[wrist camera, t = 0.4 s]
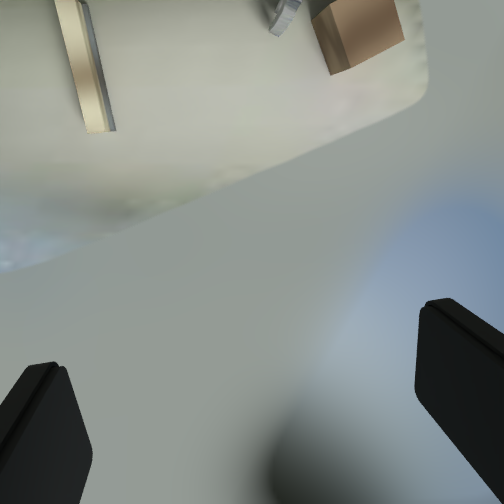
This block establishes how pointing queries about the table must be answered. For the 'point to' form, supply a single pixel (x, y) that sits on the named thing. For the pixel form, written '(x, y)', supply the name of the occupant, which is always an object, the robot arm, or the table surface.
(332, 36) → the walnut block
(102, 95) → the rail
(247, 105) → the table surface
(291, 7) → the caliper
